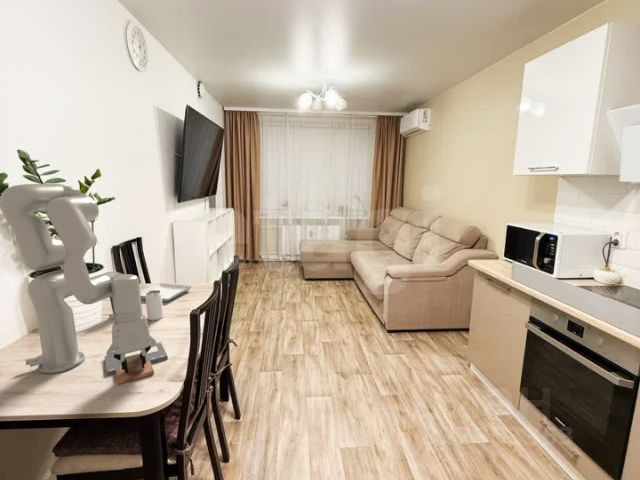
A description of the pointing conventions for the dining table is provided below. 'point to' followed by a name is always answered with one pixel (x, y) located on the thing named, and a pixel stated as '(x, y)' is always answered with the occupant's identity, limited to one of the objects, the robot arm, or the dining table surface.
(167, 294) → the salad plate
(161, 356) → the board
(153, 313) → the can
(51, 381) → the dining table surface
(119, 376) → the wooden t-shaped block
